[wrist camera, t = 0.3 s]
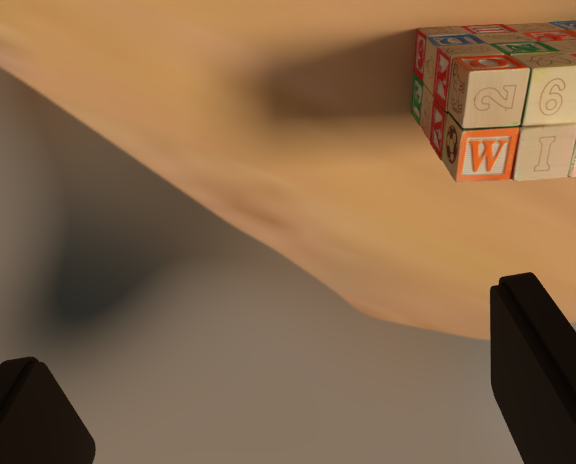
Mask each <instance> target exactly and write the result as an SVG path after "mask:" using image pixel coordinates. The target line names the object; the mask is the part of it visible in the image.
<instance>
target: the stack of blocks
mask: <svg viewBox="0 0 576 464" xmlns="http://www.w3.org/2000/svg"><path fill="white" fill-rule="evenodd" d="M411 112H412V115H413V116H414V118H415V120H416V121H417V123H418V124H419V126H421V128H422V130H423V131H424V133H425V135H426V136H427V138H428V139H429V140H430V144H431V145H432V147H433V149H434V150H435V152H436V154H437V155H438V157H439V158H440V160H442V161H443V162H444V164H445V166H446V167H447V169H448V171H449V172H450V174H451V176H452V177H453V179H454V180H455V182H456V183H463V182H479V181H496V180H508V179H512V180H514V181H524V180H538V179H553V178H564V177H567V176H568V177H572V178H575V177H576V21H563V22H549V23H532V24H515V25H504V24H495V25H475V26H448V27H428V28H418V29H417V35H416V49H415V63H414V86H413V98H412V110H411Z"/></svg>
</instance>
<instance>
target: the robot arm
mask: <svg viewBox="0 0 576 464" xmlns="http://www.w3.org/2000/svg"><path fill="white" fill-rule="evenodd" d="M490 334H491V385H492V389H493V393H494V396H495V399H496V401H497V403H498V406H499V408H500V410H501V412H502V415H503V417H504V419H505V422H506V423H507V426H508V428H509V431H510V433H511V435H512V437H513V439H514V442H515V444H516V446H517V448H518V451H519V453H520V455H521V457H522V460H523V462H524V464H576V332H575V330H574V329H573V327H572V326H571V324H570V323H569V322H568V320H567V319H566V317H565V316H564V315H563V313H562V312H561V311H560V309H559V308H558V306H557V305H556V304H555V302H554V301H553V299H552V298H551V297H550V295H549V294H548V293H547V291H546V290H545V288H544V287H543V286H542V284H541V283H540V281H539V280H538V279H537V277H536V276H535V275H534V274H533V273H531V272H528V273H522V274H516V275H510V276H504V277H501V278H500V280H499V285H496V286H492V287H491V289H490ZM95 450H96V449H95V442H94V440H93V438H92V436H91V435H90V433H89V432H88V430H87V428H86V427H85V426H84V424H83V422H82V421H81V419H80V417H79V416H78V414H77V413H76V411H75V410H74V408H73V406H72V405H71V403H70V402H69V400H68V399H67V397H66V395H65V394H64V392H63V391H62V389H61V388H60V386H59V385H58V383H57V381H56V380H55V378H54V377H53V375H52V373H51V372H50V370H49V369H48V367H47V366H46V365H45V363H43V362H39V361H38V360H37V359H36V358H34V357H25V358H19V359H13V360H7V361H4V362H2V363H1V364H0V464H92V463H93V460H94V457H95Z"/></svg>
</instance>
